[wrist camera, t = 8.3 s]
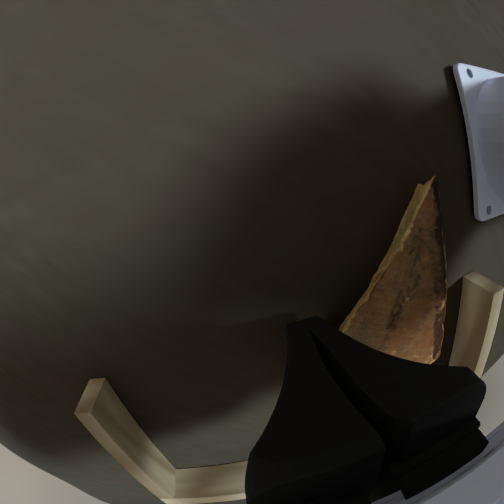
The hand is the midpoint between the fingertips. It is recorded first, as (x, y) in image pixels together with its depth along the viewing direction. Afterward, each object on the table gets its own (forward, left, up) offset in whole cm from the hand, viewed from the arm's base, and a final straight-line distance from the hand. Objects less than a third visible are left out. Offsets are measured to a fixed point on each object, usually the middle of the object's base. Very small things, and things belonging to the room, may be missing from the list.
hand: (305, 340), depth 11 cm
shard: (-3, +1, -2) cm, 4 cm away
